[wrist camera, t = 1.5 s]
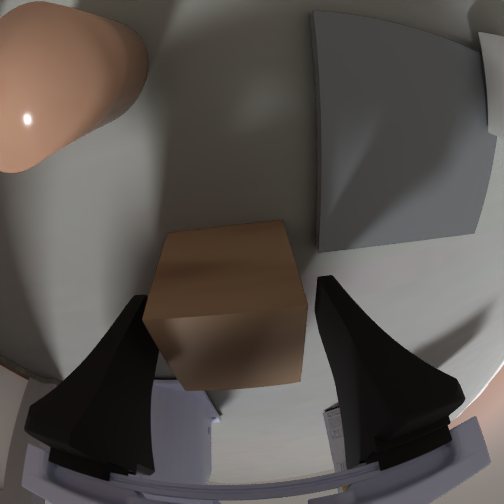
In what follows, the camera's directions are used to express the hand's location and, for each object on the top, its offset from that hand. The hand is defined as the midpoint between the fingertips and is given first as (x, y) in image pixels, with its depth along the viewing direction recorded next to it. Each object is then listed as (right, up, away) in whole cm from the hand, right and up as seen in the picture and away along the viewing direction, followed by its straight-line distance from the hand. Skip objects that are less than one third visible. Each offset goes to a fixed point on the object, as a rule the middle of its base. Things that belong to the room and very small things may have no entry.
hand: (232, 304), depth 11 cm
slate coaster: (+8, +7, -2) cm, 11 cm away
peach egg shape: (-5, +9, -4) cm, 11 cm away
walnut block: (0, +1, +2) cm, 2 cm away
